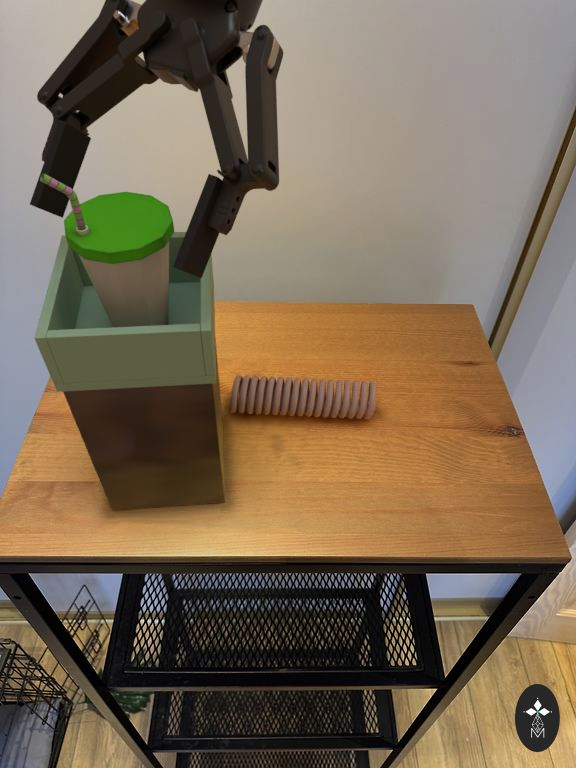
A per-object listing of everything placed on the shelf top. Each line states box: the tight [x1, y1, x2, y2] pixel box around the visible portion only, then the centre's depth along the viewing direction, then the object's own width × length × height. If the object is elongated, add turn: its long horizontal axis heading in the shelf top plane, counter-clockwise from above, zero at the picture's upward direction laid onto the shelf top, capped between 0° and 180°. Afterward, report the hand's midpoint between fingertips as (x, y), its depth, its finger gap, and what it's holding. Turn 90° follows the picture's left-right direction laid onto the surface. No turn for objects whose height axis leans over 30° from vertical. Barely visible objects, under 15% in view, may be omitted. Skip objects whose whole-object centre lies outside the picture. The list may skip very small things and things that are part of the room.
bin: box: [34, 231, 217, 393], centre depth 48 cm, size 13×13×6 cm
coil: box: [229, 374, 377, 420], centre depth 69 cm, size 5×5×18 cm
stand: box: [62, 338, 226, 511], centre depth 58 cm, size 12×12×20 cm
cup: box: [39, 173, 175, 327], centre depth 44 cm, size 8×8×15 cm
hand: (113, 241), depth 42 cm, fingers open, 13 cm apart
